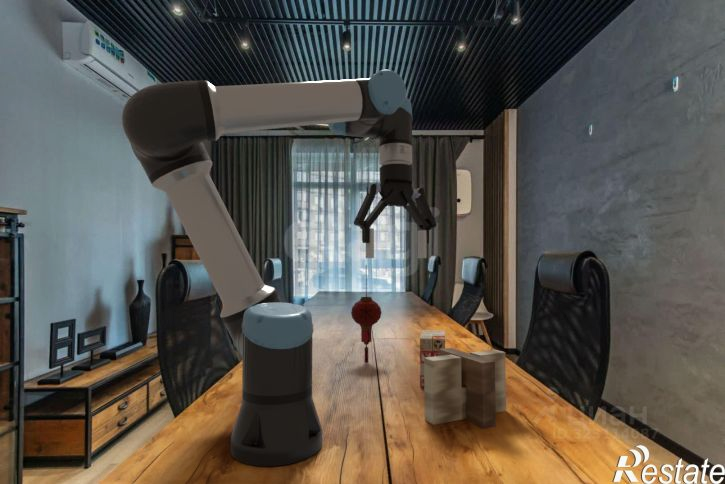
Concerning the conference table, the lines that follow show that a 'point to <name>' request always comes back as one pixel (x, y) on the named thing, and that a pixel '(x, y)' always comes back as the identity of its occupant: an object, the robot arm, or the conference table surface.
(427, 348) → the red and beige box
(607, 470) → the conference table surface
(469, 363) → the tall brown wooden block
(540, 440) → the conference table surface
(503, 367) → the grey notched block
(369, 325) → the lantern
